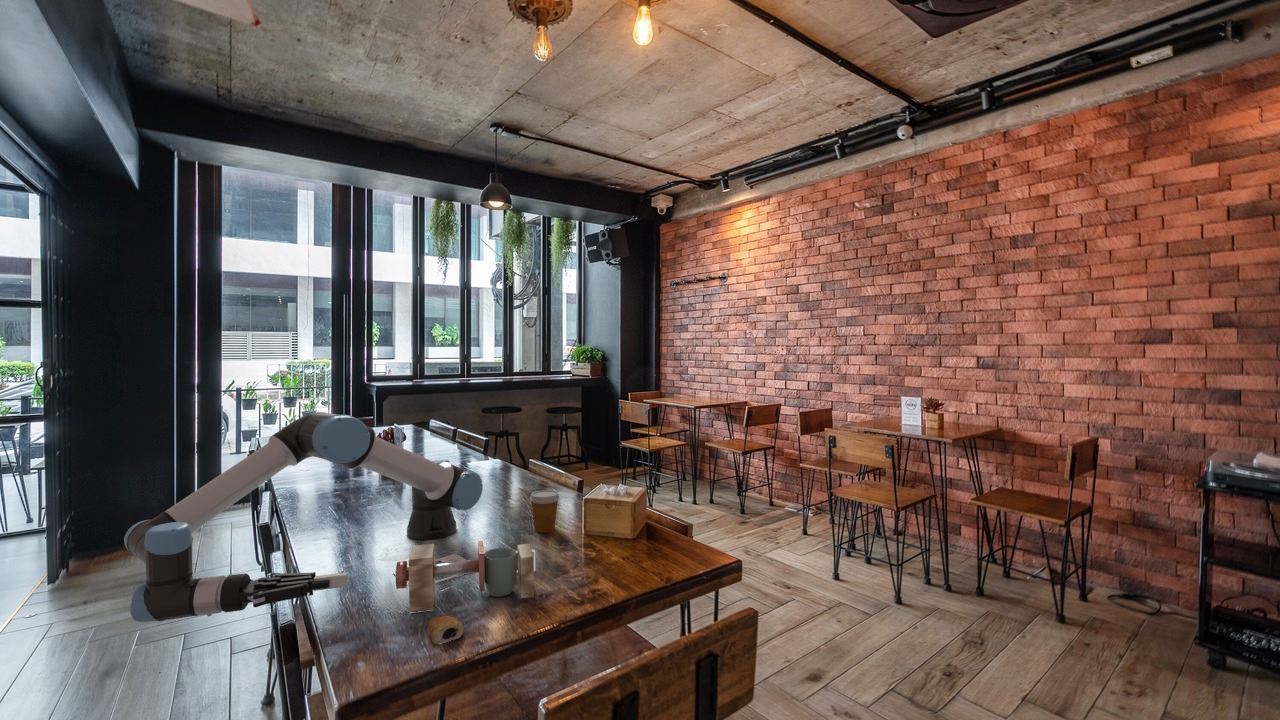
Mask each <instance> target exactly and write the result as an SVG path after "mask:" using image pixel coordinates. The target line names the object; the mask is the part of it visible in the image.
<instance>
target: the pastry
mask: <svg viewBox="0 0 1280 720" xmlns="http://www.w3.org/2000/svg"><path fill="white" fill-rule="evenodd" d="M427 628H428V631H427V633H428V635H429V636H430V639H431V641H432V643H433V642H434V643H433V644H434V645H435V644H439V643H446V642H448V643H450V642H452V641H451V640H453V641H456V640H458V639H460V638H461V637H463V635H464V632H465V628H464V626H463V623H461V621H460V620H459V619H458V618H457V617H452V616H451V615H437V616H435V617H433V618H432V619H431V620H430V621H429V622H428V627H427ZM449 641H450V642H449ZM446 644H447V643H446Z"/></svg>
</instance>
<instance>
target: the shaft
mask: <svg viewBox="0 0 1280 720" xmlns="http://www.w3.org/2000/svg"><path fill="white" fill-rule="evenodd" d="M477 552H478V553H477V557H478V558H477V559H468V561H459V562H450V563H434V564H433V578H442V577H444V578H445V577H451V576H454V575H461V574H466V575H469V574H476V573H478V587H479V588H478V589H479V593H480V592H481V593H483V592H486V590H485V589H486V586H485V569H484V554H485V547H484V540H478V541H477ZM395 565H396V566H395V567H396V568H395V571H396V576H395V588H396V590H399V589H407V587H408V585H407V581H409V564H408V561H407V560H400V561H397V562H396V564H395Z"/></svg>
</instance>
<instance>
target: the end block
mask: <svg viewBox="0 0 1280 720" xmlns="http://www.w3.org/2000/svg"><path fill="white" fill-rule="evenodd" d="M532 550H533V549H532V547H531V544H530V543H524V544H523V543H522V544H517V551H518V573H517V586H518V589H519V590H518V591H519V594H520V599H521V600H522V598H524V599H529V598H534V597H535V579H534V578H535V574H534V573H535V572H534V556H533V553H532Z"/></svg>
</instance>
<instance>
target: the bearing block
mask: <svg viewBox="0 0 1280 720" xmlns="http://www.w3.org/2000/svg"><path fill="white" fill-rule="evenodd" d="M434 560H435V543H428V544H427V543H426V544H418V545H412V546H411V549H410V552H409V557H408V567H409V585H408V593H409V594H408V597H409V606H408V607H409V613H410V612H418V611H426V610H432V609H433V610H434V607H433V605H434V604H435V598H436V597H435V595H436V584H435V581H436V579H435V578H433V564H435V563H434ZM434 597H435V598H434Z"/></svg>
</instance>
